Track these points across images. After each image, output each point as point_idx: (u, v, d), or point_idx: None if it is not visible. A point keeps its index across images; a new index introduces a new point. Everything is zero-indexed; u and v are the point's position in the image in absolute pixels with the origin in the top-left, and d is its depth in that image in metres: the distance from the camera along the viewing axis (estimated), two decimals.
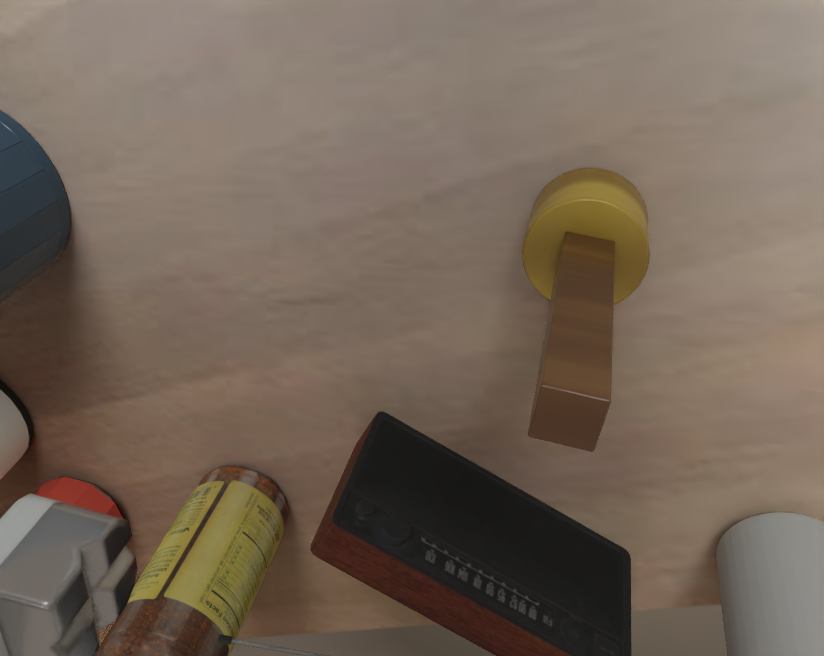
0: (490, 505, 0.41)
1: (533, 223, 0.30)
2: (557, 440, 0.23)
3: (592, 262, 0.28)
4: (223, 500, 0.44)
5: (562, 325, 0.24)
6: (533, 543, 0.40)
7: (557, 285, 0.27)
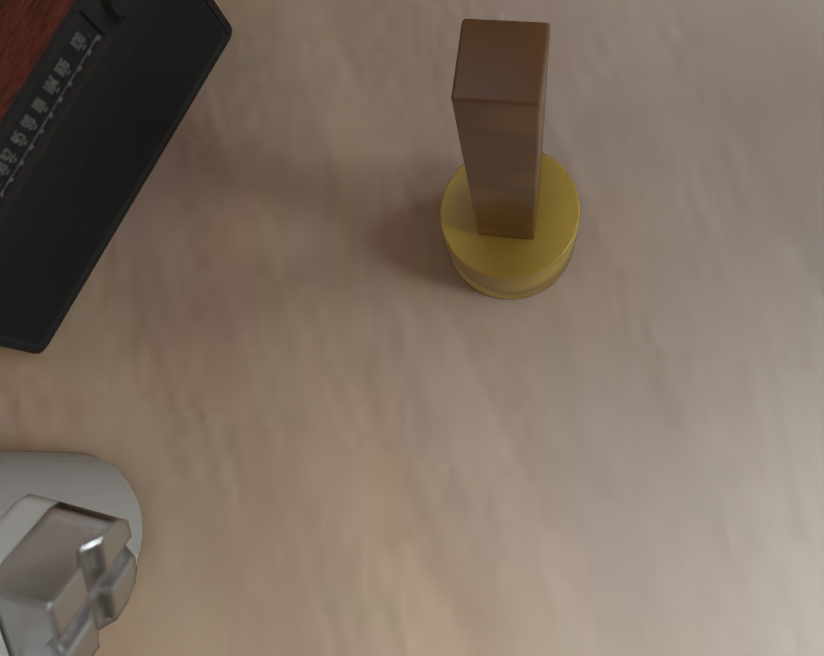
0: (119, 157, 0.31)
1: (543, 153, 0.28)
2: (463, 53, 0.17)
3: None
4: None
5: (544, 106, 0.20)
6: (71, 208, 0.30)
7: (542, 134, 0.23)
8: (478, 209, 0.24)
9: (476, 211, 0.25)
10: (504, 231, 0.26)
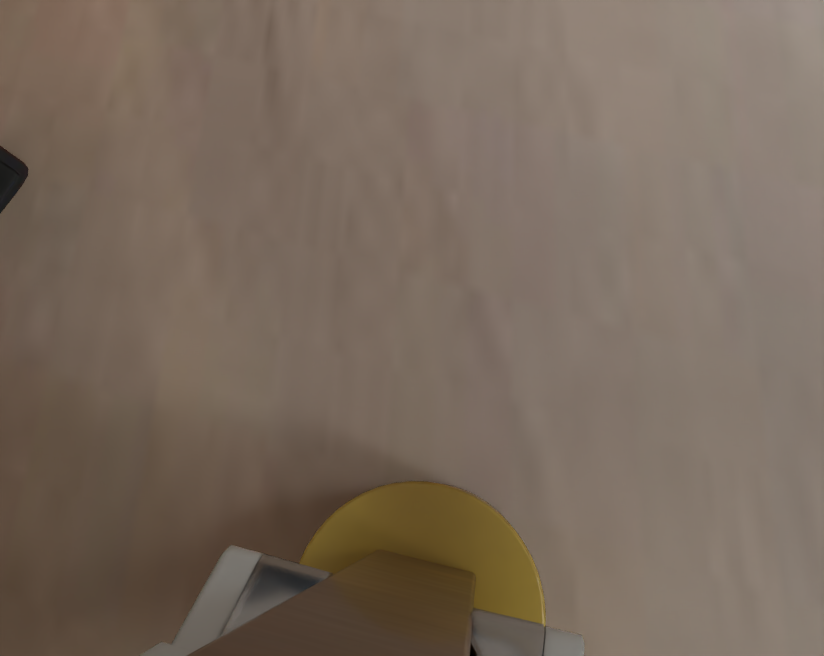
0: None
1: (488, 506, 0.15)
2: None
3: None
4: None
5: None
6: None
7: (470, 608, 0.10)
8: None
9: None
10: None
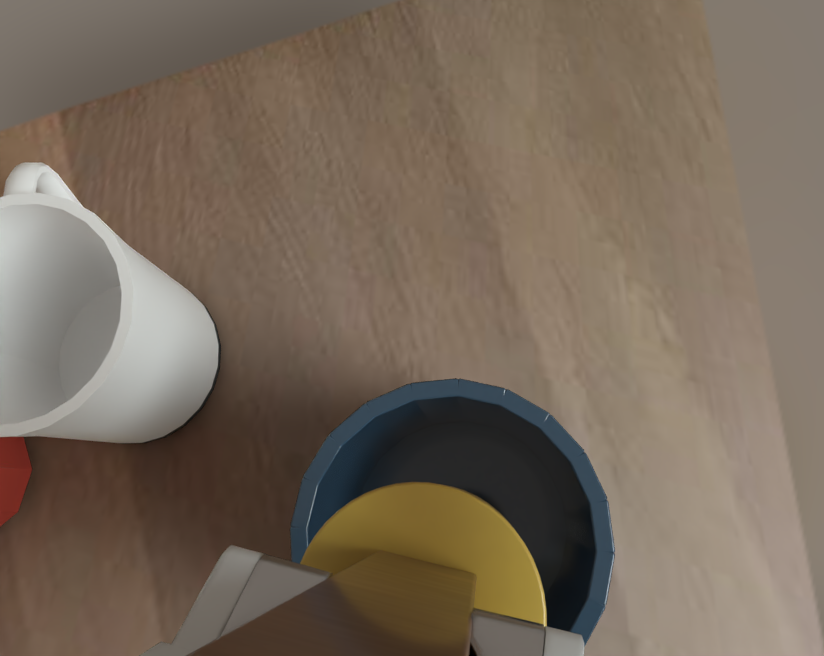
0: None
1: (489, 506, 0.15)
2: None
3: None
4: None
5: None
6: None
7: (471, 609, 0.10)
8: None
9: None
10: None
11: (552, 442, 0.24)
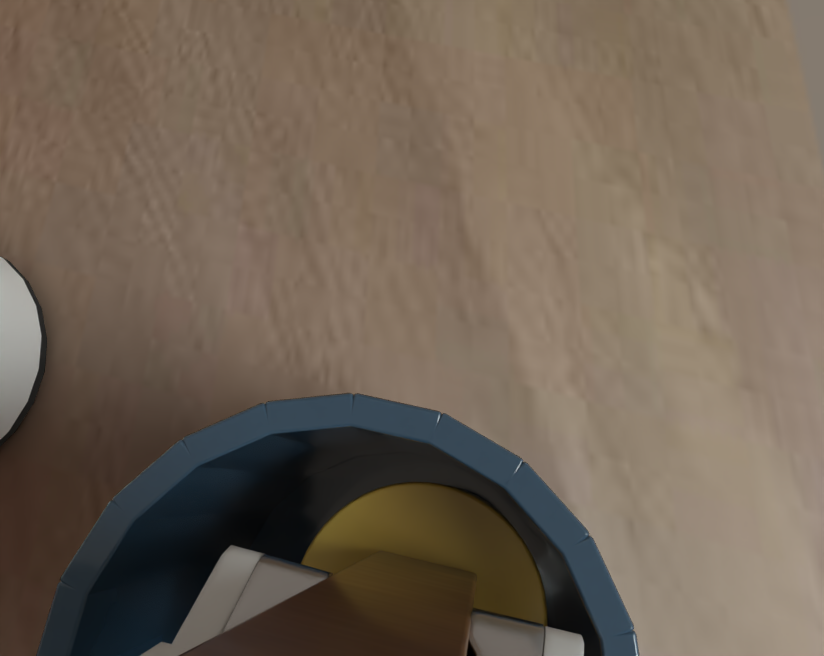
0: None
1: (489, 505, 0.15)
2: None
3: None
4: None
5: None
6: None
7: (470, 608, 0.10)
8: None
9: None
10: None
11: (528, 515, 0.13)
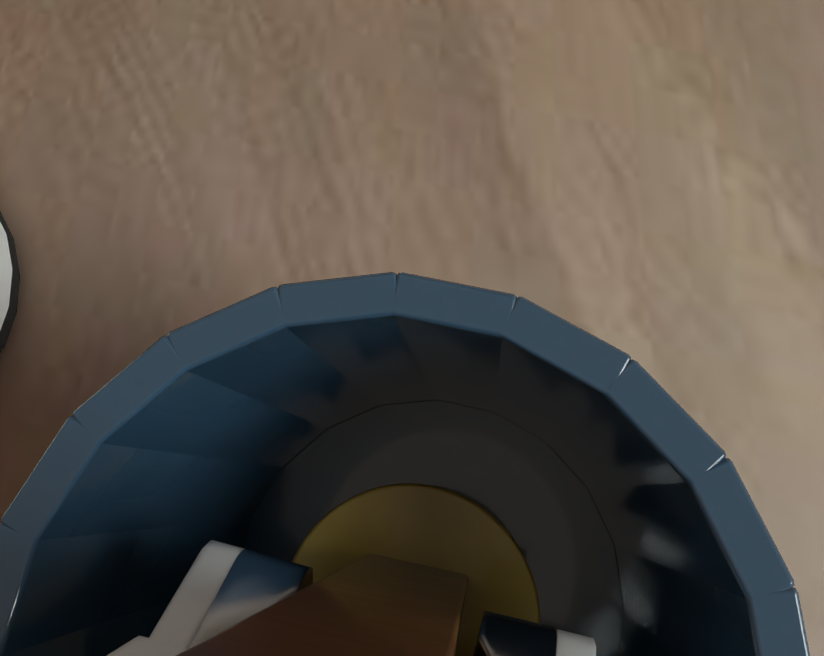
0: None
1: (479, 506, 0.15)
2: None
3: None
4: None
5: None
6: None
7: (458, 611, 0.10)
8: None
9: None
10: None
11: (640, 431, 0.09)
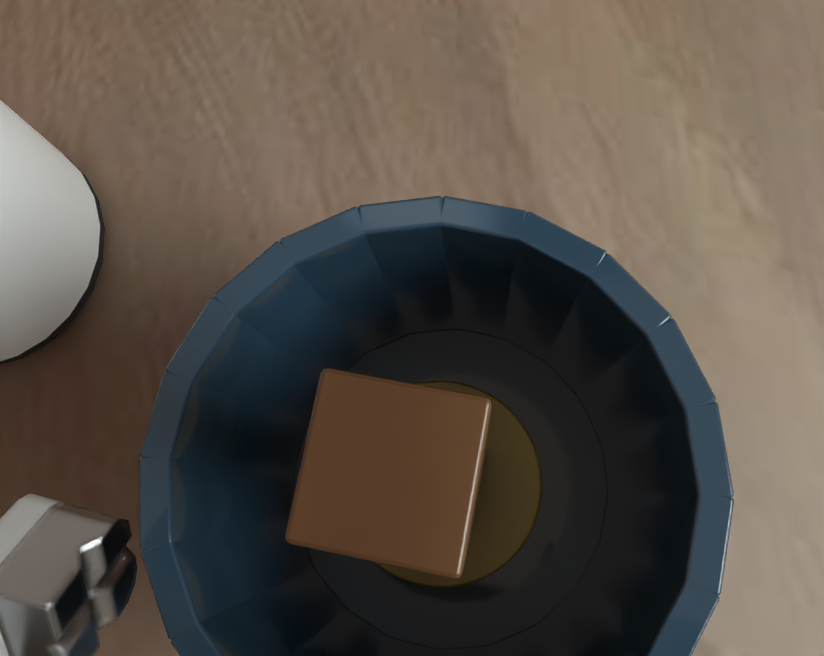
0: None
1: (494, 397, 0.19)
2: (317, 444, 0.09)
3: None
4: None
5: None
6: None
7: None
8: None
9: None
10: None
11: (612, 301, 0.14)
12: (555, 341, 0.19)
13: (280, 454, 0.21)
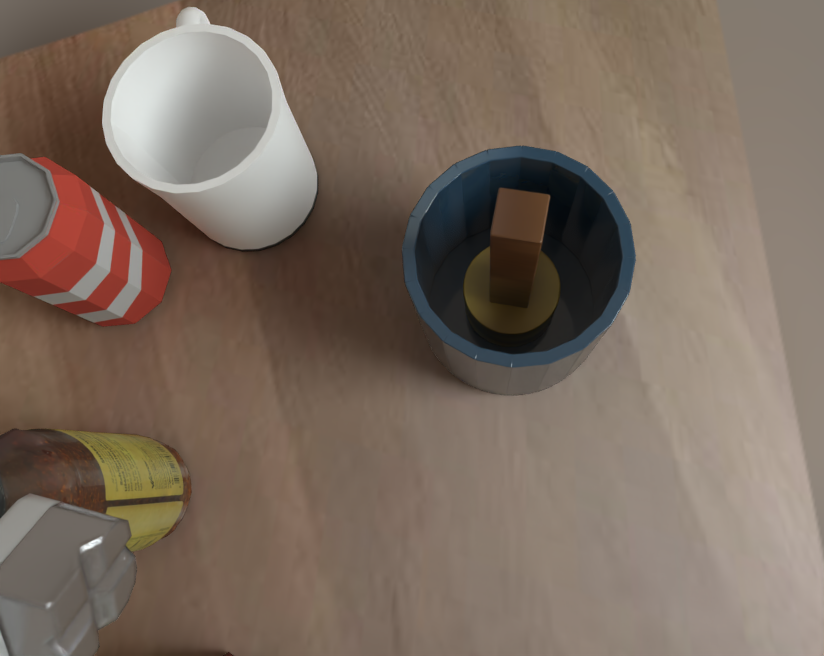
0: None
1: None
2: (498, 208, 0.29)
3: None
4: (170, 506, 0.39)
5: None
6: None
7: None
8: (493, 288, 0.36)
9: (491, 289, 0.37)
10: (508, 301, 0.38)
11: (590, 186, 0.34)
12: (566, 223, 0.40)
13: (428, 283, 0.41)
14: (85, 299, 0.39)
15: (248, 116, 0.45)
